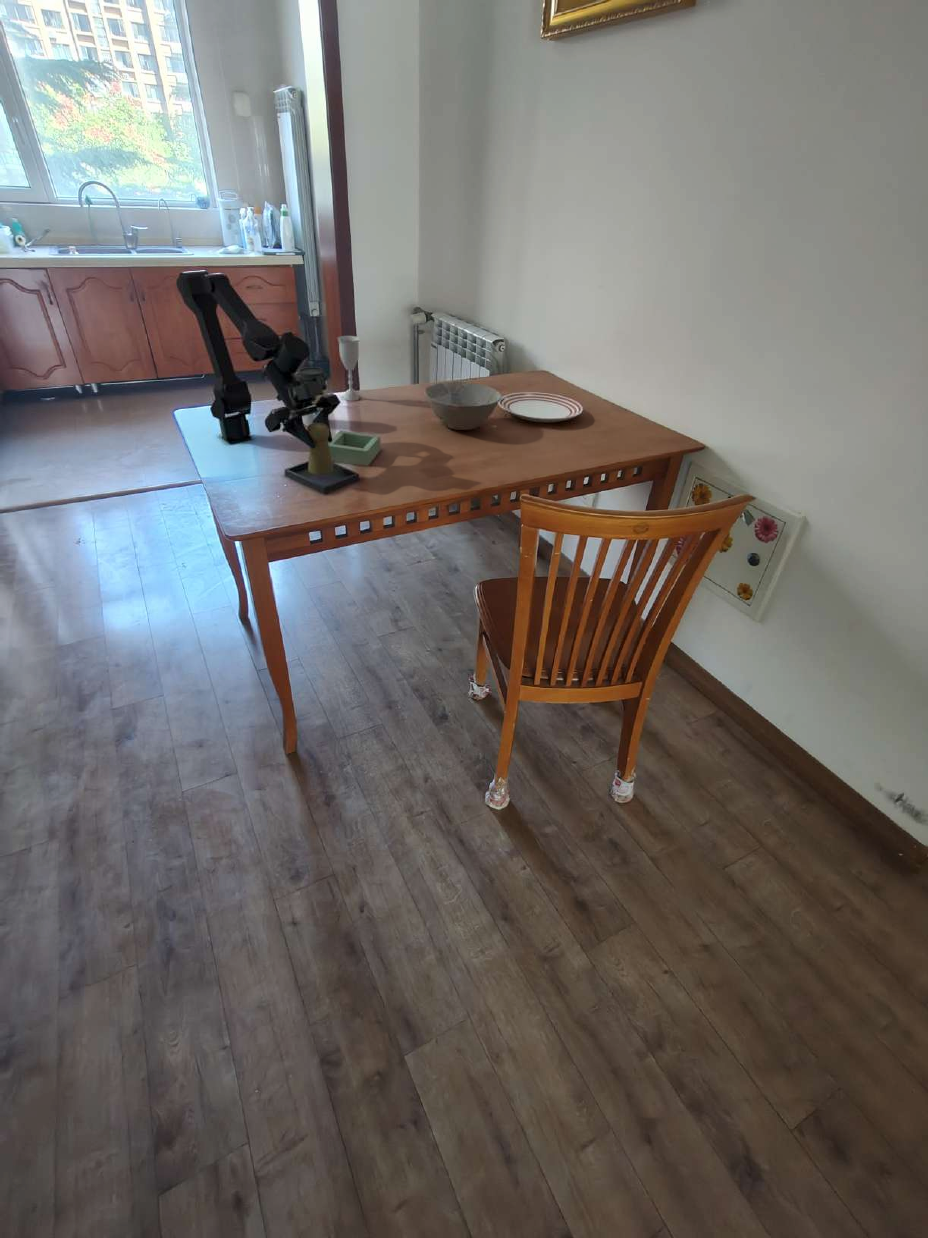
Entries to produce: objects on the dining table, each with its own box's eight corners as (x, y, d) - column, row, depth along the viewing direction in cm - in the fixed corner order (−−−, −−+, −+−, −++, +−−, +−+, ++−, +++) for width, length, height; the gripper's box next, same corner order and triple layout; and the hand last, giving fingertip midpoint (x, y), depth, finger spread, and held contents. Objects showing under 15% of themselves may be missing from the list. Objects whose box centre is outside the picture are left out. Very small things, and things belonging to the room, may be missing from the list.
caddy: (326, 460, 153) (324, 445, 150) (341, 444, 162) (340, 430, 159) (367, 466, 152) (367, 451, 149) (380, 450, 160) (380, 435, 158)
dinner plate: (480, 408, 193) (480, 398, 191) (536, 395, 208) (537, 385, 206) (542, 435, 178) (544, 424, 176) (598, 418, 193) (600, 408, 191)
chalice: (344, 393, 196) (340, 334, 185) (364, 395, 195) (362, 336, 184) (338, 400, 190) (334, 340, 179) (358, 402, 190) (356, 342, 179)
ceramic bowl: (513, 429, 180) (517, 396, 174) (459, 446, 166) (461, 410, 160) (462, 408, 192) (465, 376, 185) (408, 422, 178) (408, 388, 172)
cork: (337, 466, 145) (335, 422, 138) (326, 476, 140) (323, 431, 134) (315, 462, 146) (312, 417, 139) (303, 471, 142) (299, 426, 135)
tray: (284, 475, 144) (284, 469, 143) (320, 462, 151) (319, 456, 150) (324, 494, 138) (324, 487, 137) (359, 480, 145) (359, 473, 144)
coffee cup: (313, 430, 168) (308, 375, 159) (292, 422, 172) (286, 368, 163) (337, 422, 174) (333, 369, 165) (316, 414, 178) (311, 362, 169)
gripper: (266, 372, 125) (305, 438, 126) (332, 357, 137) (368, 418, 139) (248, 400, 133) (285, 461, 135) (312, 384, 145) (346, 440, 147)
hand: (322, 444), depth 139 cm, fingers closed on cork, 5 cm apart
